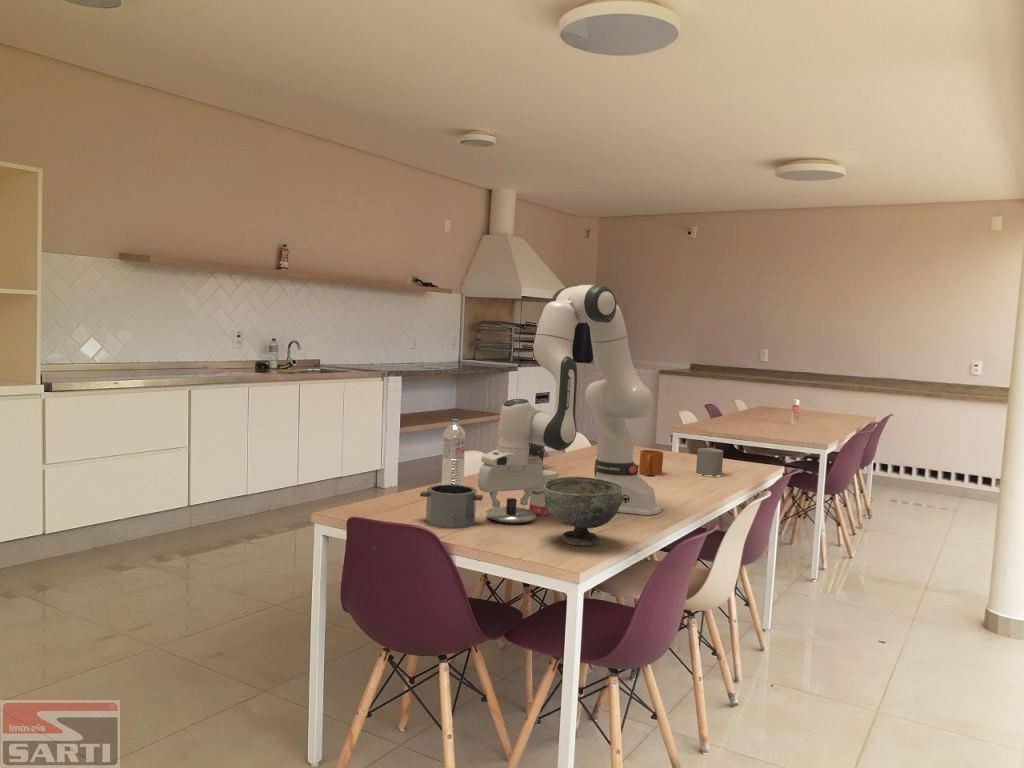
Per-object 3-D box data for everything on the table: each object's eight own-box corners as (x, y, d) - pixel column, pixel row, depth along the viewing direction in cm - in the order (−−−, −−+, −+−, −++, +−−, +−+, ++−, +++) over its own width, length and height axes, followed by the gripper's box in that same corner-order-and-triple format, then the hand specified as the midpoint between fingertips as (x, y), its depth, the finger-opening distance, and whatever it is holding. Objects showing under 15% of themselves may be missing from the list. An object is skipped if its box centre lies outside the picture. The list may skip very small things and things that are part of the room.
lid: (542, 517, 226) (543, 497, 225) (524, 529, 213) (526, 508, 212) (497, 510, 231) (498, 491, 230) (477, 521, 218) (478, 500, 217)
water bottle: (445, 502, 239) (449, 420, 238) (437, 497, 245) (440, 418, 244) (466, 501, 242) (469, 420, 241) (457, 496, 248) (460, 417, 247)
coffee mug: (717, 478, 307) (719, 452, 306) (692, 474, 311) (694, 449, 311) (726, 473, 318) (728, 449, 317) (702, 470, 323) (704, 446, 322)
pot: (484, 518, 221) (485, 486, 220) (477, 529, 208) (479, 496, 207) (425, 514, 223) (426, 482, 222) (415, 525, 210) (416, 491, 209)
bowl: (531, 545, 196) (534, 485, 195) (555, 528, 214) (558, 473, 213) (608, 556, 189) (612, 494, 188) (626, 538, 207) (630, 482, 206)
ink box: (543, 516, 228) (545, 475, 227) (528, 513, 231) (530, 473, 230) (557, 511, 235) (559, 471, 234) (543, 508, 238) (545, 469, 237)
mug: (632, 475, 304) (633, 452, 304) (644, 471, 314) (645, 449, 314) (653, 478, 300) (655, 454, 299) (665, 474, 310) (666, 451, 309)
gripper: (536, 454, 229) (533, 500, 230) (476, 456, 218) (473, 505, 218) (549, 457, 224) (546, 505, 225) (488, 460, 212) (485, 510, 213)
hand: (510, 505), depth 222 cm, fingers open, 8 cm apart
